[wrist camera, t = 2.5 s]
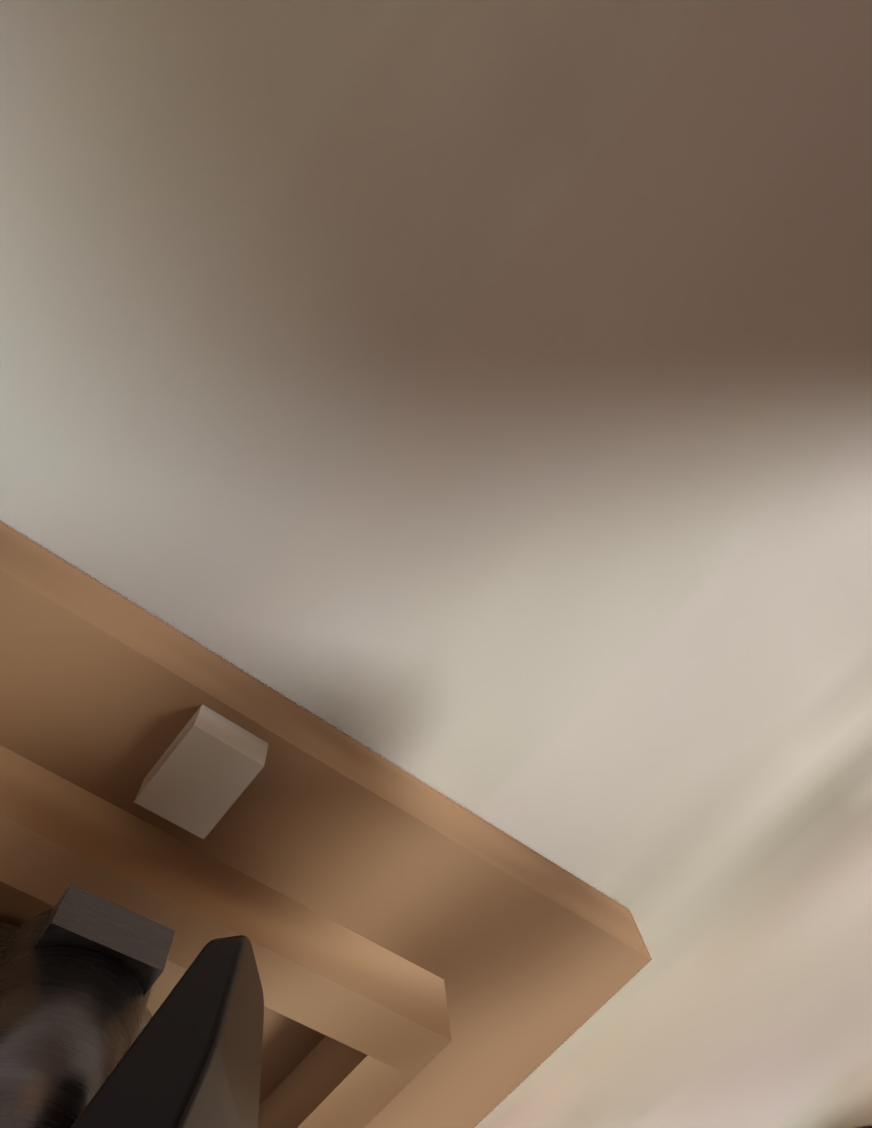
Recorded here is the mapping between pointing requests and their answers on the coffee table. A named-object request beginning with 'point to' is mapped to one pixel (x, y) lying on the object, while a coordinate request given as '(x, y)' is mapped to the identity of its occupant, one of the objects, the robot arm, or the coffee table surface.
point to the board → (286, 864)
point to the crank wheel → (71, 1003)
